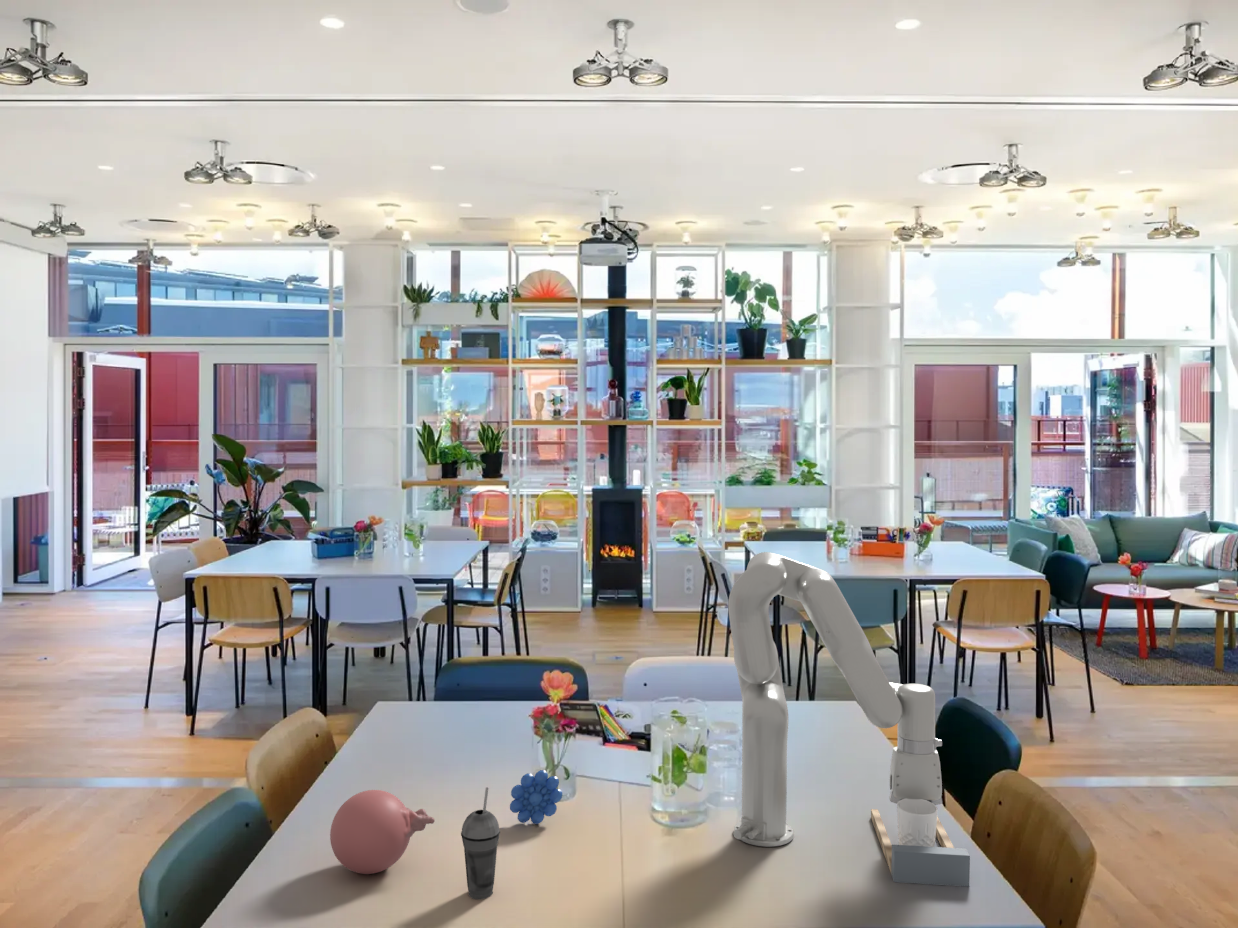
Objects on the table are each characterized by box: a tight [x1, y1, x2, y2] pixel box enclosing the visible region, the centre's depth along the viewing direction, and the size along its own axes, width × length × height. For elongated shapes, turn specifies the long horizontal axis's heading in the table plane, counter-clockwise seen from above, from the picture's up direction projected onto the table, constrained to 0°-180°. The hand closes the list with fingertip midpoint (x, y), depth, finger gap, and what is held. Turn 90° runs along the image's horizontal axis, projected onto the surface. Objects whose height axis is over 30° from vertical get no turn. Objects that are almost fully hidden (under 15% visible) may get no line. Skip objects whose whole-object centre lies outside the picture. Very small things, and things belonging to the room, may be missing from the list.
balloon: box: [329, 789, 435, 875], centre depth 183 cm, size 15×20×15 cm
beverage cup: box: [460, 787, 501, 900], centre depth 174 cm, size 7×7×20 cm
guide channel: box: [870, 808, 955, 873], centre depth 195 cm, size 27×14×2 cm, turn 173°
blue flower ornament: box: [509, 769, 564, 825], centre depth 206 cm, size 12×7×12 cm, turn 89°
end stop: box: [890, 843, 971, 887], centre depth 180 cm, size 3×14×6 cm, turn 83°
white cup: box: [896, 799, 939, 847], centre depth 191 cm, size 8×8×10 cm
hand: (915, 829), depth 196 cm, fingers closed
